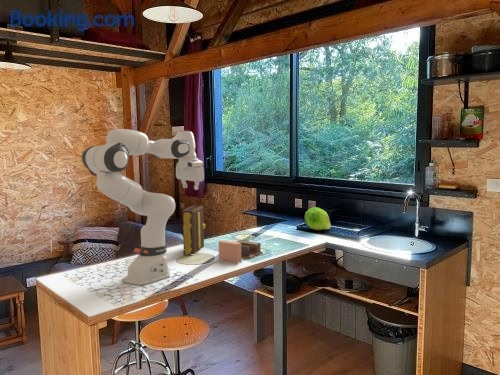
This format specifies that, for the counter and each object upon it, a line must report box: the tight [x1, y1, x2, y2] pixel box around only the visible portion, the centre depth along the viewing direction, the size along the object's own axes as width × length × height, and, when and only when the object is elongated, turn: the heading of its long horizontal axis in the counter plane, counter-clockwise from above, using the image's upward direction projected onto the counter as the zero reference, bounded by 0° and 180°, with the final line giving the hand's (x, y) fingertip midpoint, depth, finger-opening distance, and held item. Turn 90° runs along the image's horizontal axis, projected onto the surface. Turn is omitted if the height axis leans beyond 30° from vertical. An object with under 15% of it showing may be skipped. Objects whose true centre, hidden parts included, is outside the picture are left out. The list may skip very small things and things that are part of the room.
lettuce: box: [304, 206, 332, 231], centre depth 290 cm, size 17×20×16 cm
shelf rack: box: [235, 239, 264, 259], centre depth 229 cm, size 12×16×6 cm
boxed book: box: [218, 239, 242, 264], centre depth 217 cm, size 4×12×10 cm, turn 58°
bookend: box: [241, 245, 250, 256], centre depth 225 cm, size 1×12×5 cm, turn 58°
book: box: [182, 205, 206, 256], centre depth 238 cm, size 22×8×25 cm, turn 168°
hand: (190, 188), depth 213 cm, fingers open, 8 cm apart
